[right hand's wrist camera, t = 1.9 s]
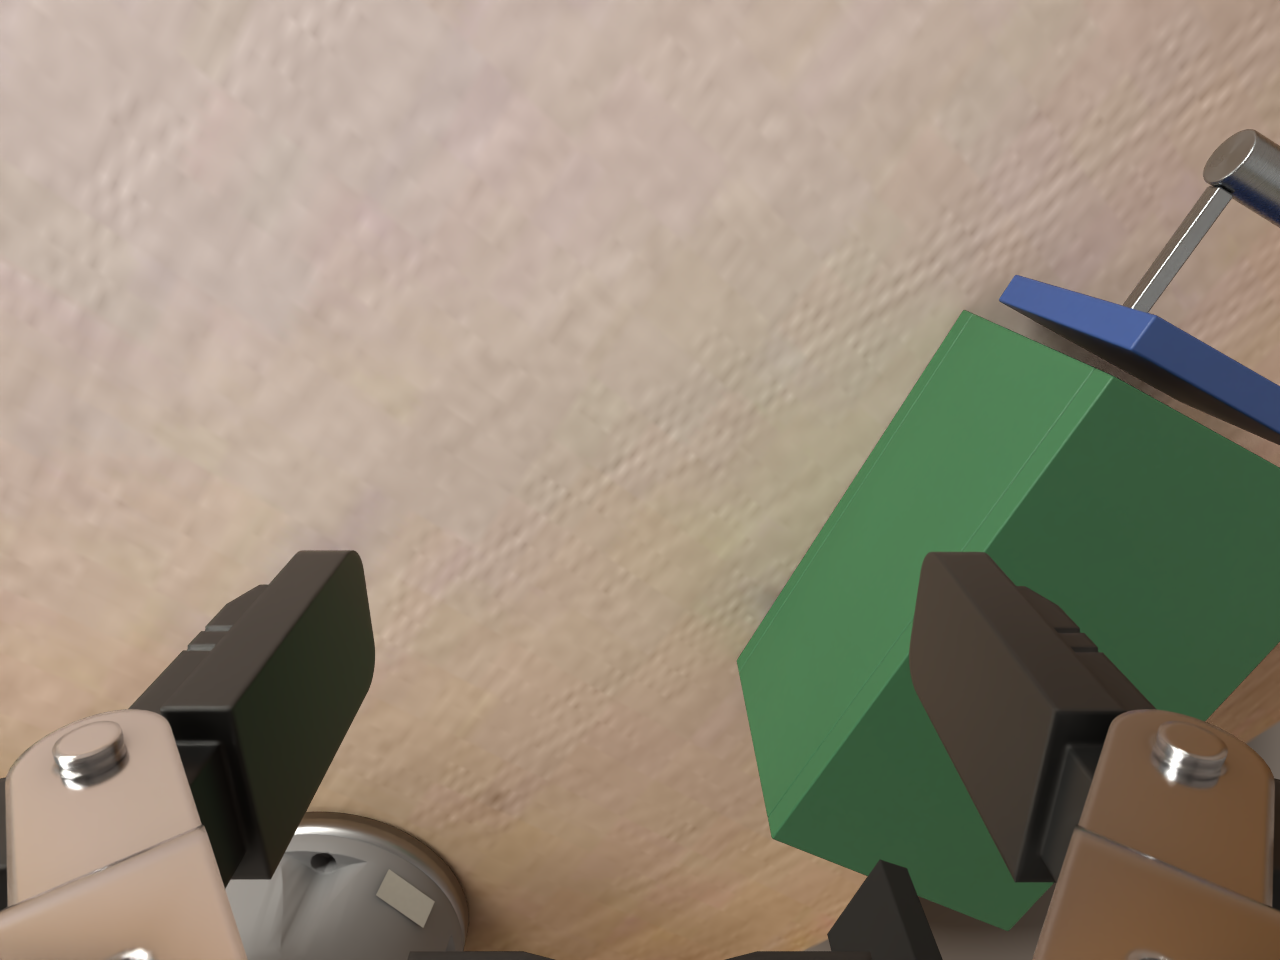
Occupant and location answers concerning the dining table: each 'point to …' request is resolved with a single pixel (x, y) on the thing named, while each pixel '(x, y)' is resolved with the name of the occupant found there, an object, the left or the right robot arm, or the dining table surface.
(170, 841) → the right robot arm
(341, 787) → the dining table surface
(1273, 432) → the drawer
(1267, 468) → the cabinet
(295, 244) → the dining table surface
